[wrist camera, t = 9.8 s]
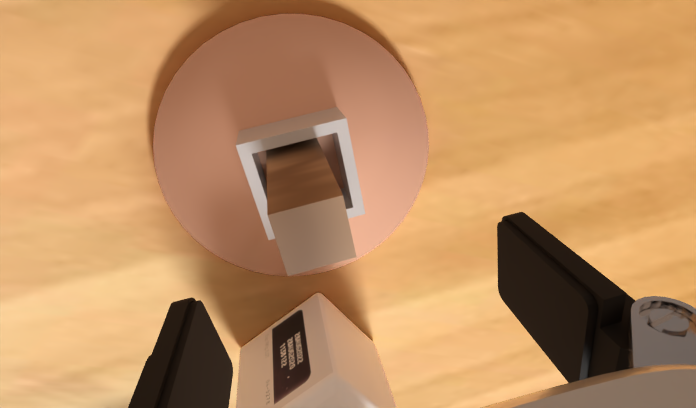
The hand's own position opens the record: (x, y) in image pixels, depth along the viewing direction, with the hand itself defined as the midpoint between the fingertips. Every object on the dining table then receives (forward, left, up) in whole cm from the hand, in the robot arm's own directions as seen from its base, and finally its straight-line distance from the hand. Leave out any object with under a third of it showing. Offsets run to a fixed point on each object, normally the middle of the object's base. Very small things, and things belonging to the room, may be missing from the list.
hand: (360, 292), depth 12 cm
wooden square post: (+1, 0, -12) cm, 12 cm away
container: (+4, +15, -13) cm, 20 cm away
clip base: (+1, 0, -13) cm, 13 cm away
